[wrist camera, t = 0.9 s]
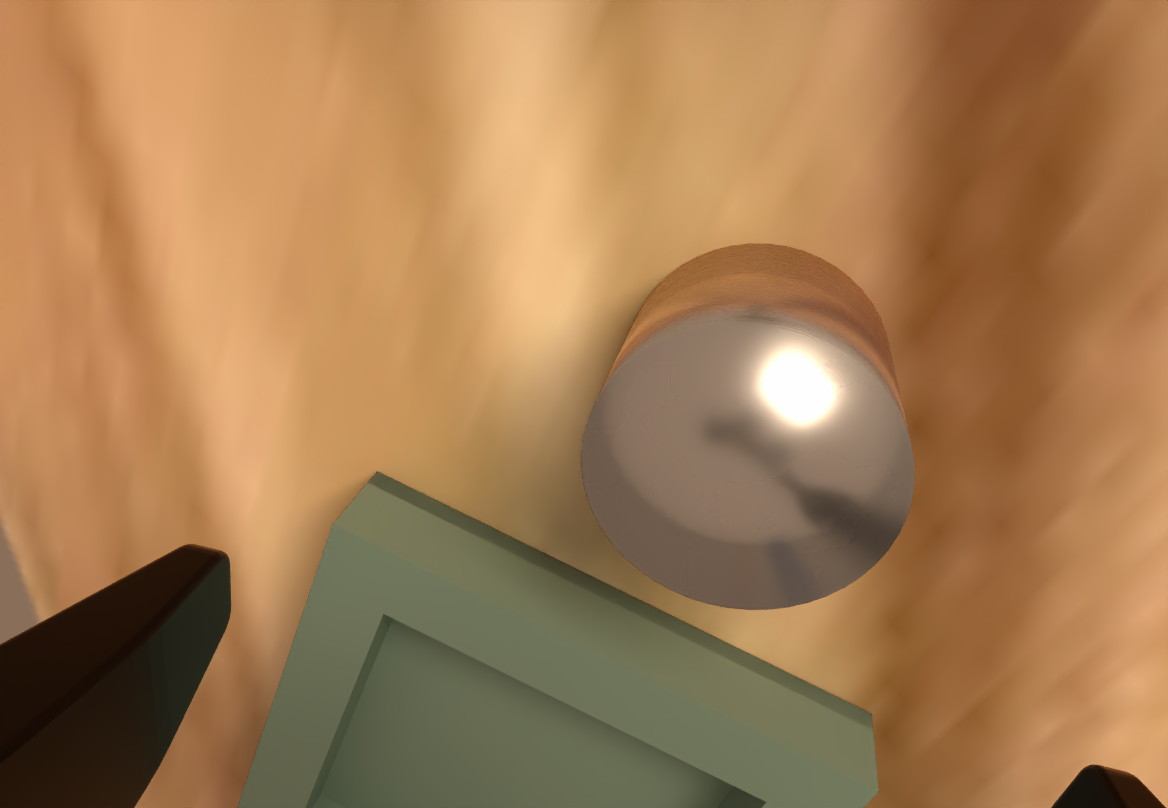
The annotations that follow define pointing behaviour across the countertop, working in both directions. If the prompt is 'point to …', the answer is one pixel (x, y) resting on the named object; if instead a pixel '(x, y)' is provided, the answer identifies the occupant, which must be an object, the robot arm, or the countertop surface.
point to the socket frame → (527, 687)
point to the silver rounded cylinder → (751, 432)
